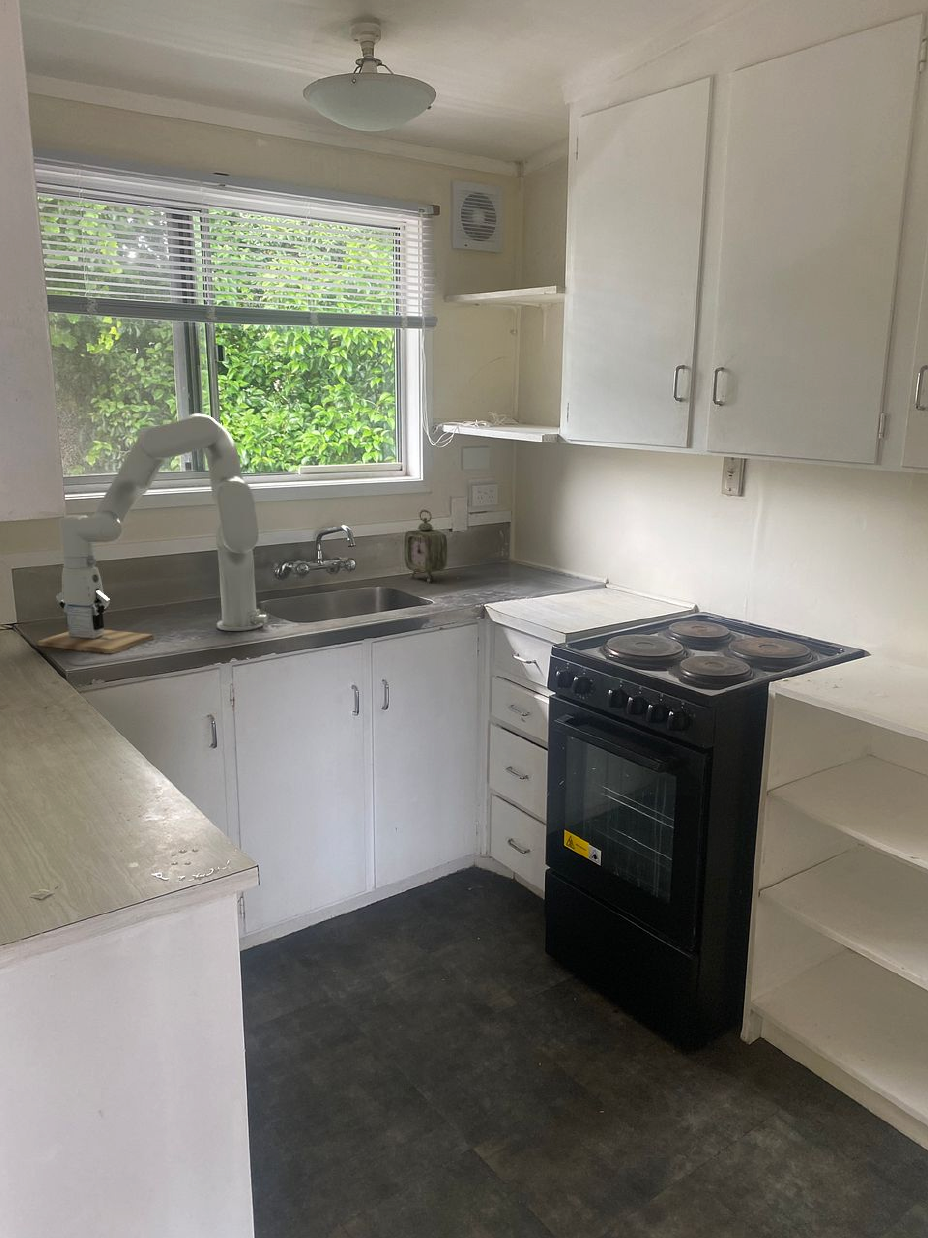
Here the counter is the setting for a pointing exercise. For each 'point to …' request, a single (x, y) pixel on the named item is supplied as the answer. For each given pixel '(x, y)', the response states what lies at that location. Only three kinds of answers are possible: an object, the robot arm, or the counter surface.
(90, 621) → the medicine box
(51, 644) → the light brown wooden board
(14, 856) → the counter surface
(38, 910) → the counter surface
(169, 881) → the counter surface
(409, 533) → the tabletop clock
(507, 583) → the counter surface
